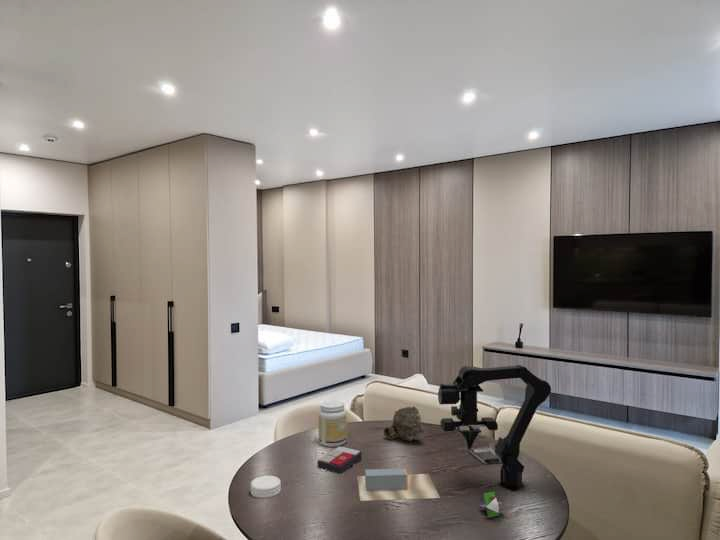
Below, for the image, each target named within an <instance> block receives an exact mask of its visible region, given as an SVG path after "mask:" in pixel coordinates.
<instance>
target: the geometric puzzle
mask: <svg viewBox="0 0 720 540" xmlns="http://www.w3.org/2000/svg"><path fill="white" fill-rule="evenodd" d="M480 499H481V500H484V504H478V505H477V506H478V507H479V508H481V510H483V509H484V508H485V510H486V515H487V518H492V517H496V516H500V511H502V509H503V508H501V509H500V506H499V504H501V505H502V506H504V504H505V502H504V501H498V500H502V499H501V498H500V497H499V498H497V497H496V491H495V490H493V491H489V492H483V493H482V496H481V498H480ZM483 507H484V508H483Z"/></svg>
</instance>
